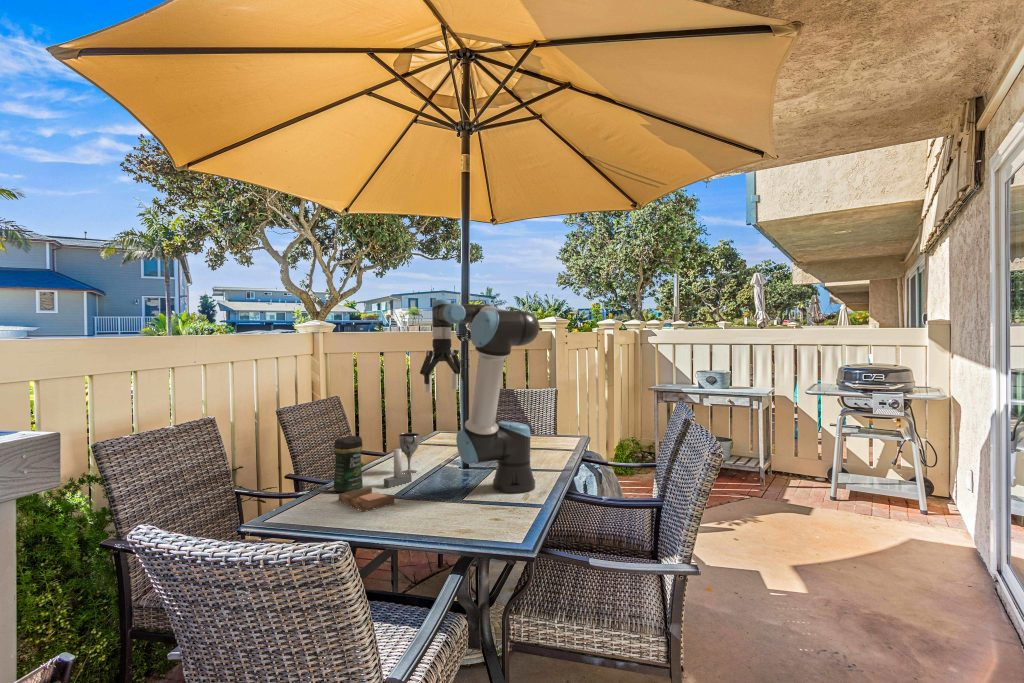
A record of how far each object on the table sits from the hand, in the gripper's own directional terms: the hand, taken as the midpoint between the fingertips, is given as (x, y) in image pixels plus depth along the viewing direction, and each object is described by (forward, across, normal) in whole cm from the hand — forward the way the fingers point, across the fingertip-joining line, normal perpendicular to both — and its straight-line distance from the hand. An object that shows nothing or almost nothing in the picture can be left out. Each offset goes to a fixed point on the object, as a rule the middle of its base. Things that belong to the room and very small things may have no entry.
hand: (442, 391), depth 220 cm
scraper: (+32, +25, +5) cm, 41 cm away
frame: (+32, +43, +15) cm, 55 cm away
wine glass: (+32, +12, -6) cm, 35 cm away
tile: (+32, +41, +15) cm, 55 cm away
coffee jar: (+32, +40, -3) cm, 51 cm away
